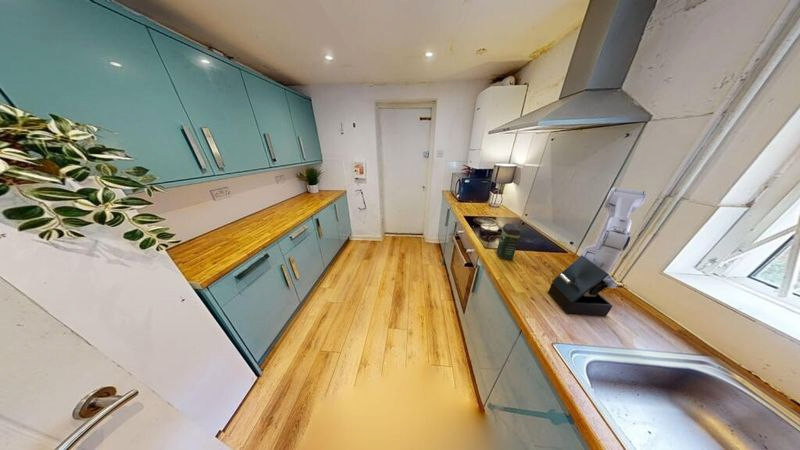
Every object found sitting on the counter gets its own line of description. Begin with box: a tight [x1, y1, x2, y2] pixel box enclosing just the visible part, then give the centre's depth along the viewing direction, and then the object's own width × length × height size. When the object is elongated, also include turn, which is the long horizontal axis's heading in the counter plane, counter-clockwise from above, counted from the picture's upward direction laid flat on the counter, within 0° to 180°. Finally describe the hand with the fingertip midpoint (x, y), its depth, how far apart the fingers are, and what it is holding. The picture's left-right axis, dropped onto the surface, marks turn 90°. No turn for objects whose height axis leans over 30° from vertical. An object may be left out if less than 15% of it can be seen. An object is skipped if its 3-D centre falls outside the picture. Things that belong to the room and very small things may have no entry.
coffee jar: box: [496, 223, 522, 261], centre depth 107 cm, size 10×8×19 cm
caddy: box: [547, 282, 613, 318], centre depth 79 cm, size 14×11×6 cm
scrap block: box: [584, 290, 597, 297], centre depth 79 cm, size 4×4×4 cm
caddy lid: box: [551, 254, 610, 303], centre depth 74 cm, size 15×11×5 cm
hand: (587, 289), depth 79 cm, fingers closed on scrap block, 4 cm apart
